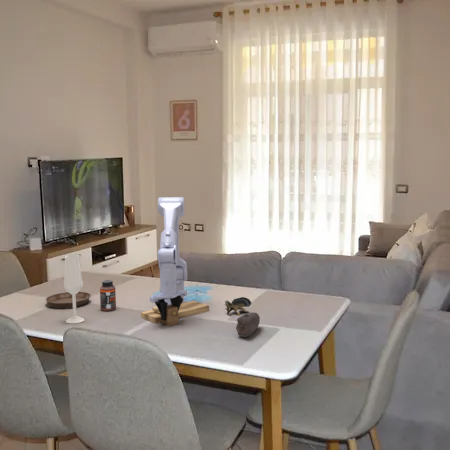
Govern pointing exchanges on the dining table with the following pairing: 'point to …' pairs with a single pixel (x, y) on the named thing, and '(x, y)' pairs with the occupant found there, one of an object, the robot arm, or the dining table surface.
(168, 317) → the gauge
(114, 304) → the supplement bottle
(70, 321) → the champagne flute
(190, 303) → the board
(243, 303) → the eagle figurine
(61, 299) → the plant saucer
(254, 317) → the perforated stone tool
